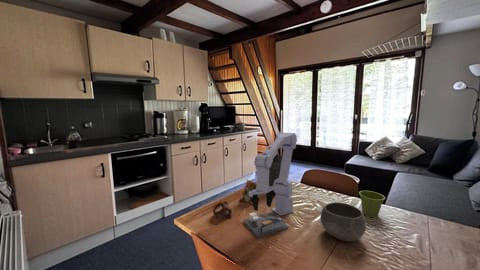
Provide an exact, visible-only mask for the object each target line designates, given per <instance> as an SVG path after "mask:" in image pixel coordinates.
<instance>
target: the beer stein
mask: <svg viewBox="0 0 480 270" xmlns="http://www.w3.org/2000/svg"><path fill="white" fill-rule="evenodd" d="M282 156H283V155H279V154H278V153H277V155H276V156H275V157H274V158H273V162H272V164H271V167H270V168H269V186H273V184H274V181H275V180H276V179H278V178H279V175H280V169H281V162H282ZM280 184H283V183H280Z"/></svg>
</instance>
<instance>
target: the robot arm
mask: <svg viewBox="0 0 480 270" xmlns="http://www.w3.org/2000/svg"><path fill="white" fill-rule="evenodd" d="M297 141H298V137H297V134H296V133H295V132H283V131H277V133H276V136H275V140H274V141H273V143H272V145H268V146H267V147H266V148H265V149H264V151H263V152H261V153H260V154H259V153H258V154H257V155H255V157H254V161H253V162H254V166H255V170H256V184H257V187H256V189H254V190H252V191H250V192H249V197H250V199H251V201H252V203H253V205H252V207H253V210H254V211H255V212H257V211H258V210H259V202H260V197H259V195H262V194H265V196H266V197H265V198H266V206H267V207H269V208H270V207H272V202H273V199H274V198H275V201H274V207H273V208H271V211H273V212H275V213H276V215H279V217H280V216H284V215H287V214H291V213H294V212H295V210H294V198H293V196H292V194H293V183H292V182H291V180H290V179H289V175H290V170H291V163H292V157H293V151H294V150H295V149H296V147H297ZM280 148H282V151H283V152H282V155H281V156H282V162H281V169H280V175H279V178H278V179H276V180H275V181H274V184H273V186H269V168H270V167H271V164H272V162H273V158H274V157H275V156H276V155H277V154H278V150H279V149H280ZM280 183H283V184H280ZM257 195H258V196H257Z"/></svg>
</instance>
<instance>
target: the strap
mask: <svg viewBox="0 0 480 270" xmlns="http://www.w3.org/2000/svg"><path fill="white" fill-rule="evenodd" d="M256 214H257V216H258V217H259V218H260V219H267V220H274V221H280V220H281V219H282V218H281V217H280V216H279V217H275V216H268V215H263V214H261V213H260V214H259V213H256Z"/></svg>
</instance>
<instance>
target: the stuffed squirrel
mask: <svg viewBox="0 0 480 270" xmlns="http://www.w3.org/2000/svg"><path fill="white" fill-rule="evenodd" d="M256 187H257V181H256V182H254V181H252V180H249V179H246V183H245V185H244V186H243V188H244V190H243V191H242V197H239V199H238V201H239V202H247V203H249V204H250V205H252V206H253V203H252V201H251V199H250V197H249V192H250V191H252V190H254V189H256ZM257 196H258V197H259V195H257Z"/></svg>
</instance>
